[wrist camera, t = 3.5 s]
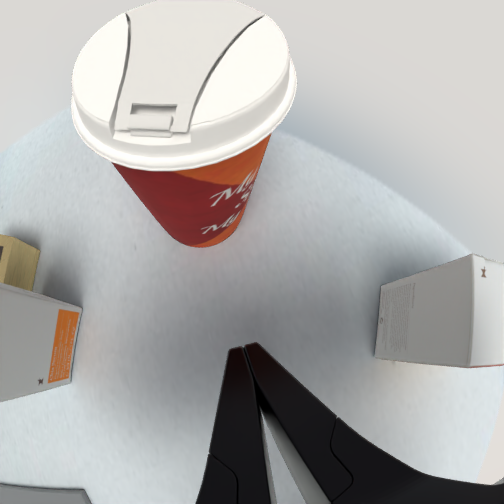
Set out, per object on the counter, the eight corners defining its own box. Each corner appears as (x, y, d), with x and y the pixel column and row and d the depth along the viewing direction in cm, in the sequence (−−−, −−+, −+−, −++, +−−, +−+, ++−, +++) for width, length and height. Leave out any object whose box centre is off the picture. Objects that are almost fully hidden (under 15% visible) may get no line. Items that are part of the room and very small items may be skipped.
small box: (371, 358, 21) (466, 370, 11) (378, 283, 23) (471, 250, 13) (451, 359, 22) (546, 362, 12) (455, 294, 23) (548, 271, 13)
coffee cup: (252, 270, 22) (303, 162, 8) (136, 256, 22) (19, 145, 7) (262, 163, 24) (303, -3, 10) (158, 153, 24) (111, -8, 9)
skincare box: (72, 384, 19) (-36, 416, 7) (28, 366, 19) (-83, 376, 7) (85, 305, 21) (-25, 279, 9) (40, 291, 20) (-71, 257, 9)
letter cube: (7, 243, 21) (-20, 229, 17) (40, 250, 21) (13, 236, 17) (-3, 289, 20) (-32, 282, 16) (30, 300, 20) (1, 293, 16)
